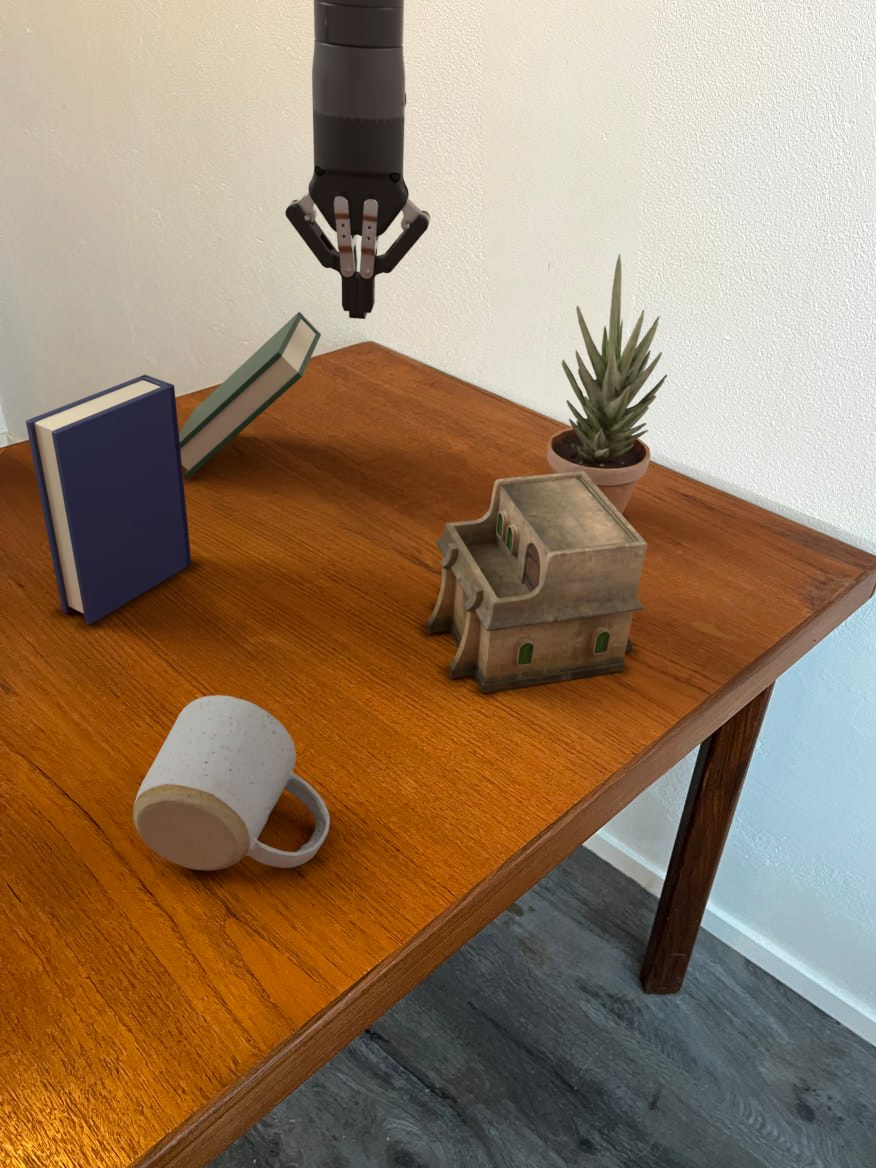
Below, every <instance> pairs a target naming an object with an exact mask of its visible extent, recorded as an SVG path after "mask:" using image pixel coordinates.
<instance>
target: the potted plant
mask: <svg viewBox="0 0 876 1168" xmlns="http://www.w3.org/2000/svg"><path fill="white" fill-rule="evenodd" d="M575 311H576V316H577V321H578V325H579V329H580V331H581V336H582V338H583V341H584V345H585V349H586V352H587V355H588V358H589V360H590V364H591V367H592V369H593V373H594V375H595V379H594V377H593V375H592V374H591V373H590V372H589V370H588V368H587V367H586V365H585V363H584V361H583V359H582V357H581V355H580V353H579V352H578V350H577V349H575V358H576V362H577V366H578V369H577V374H578V377H579V379H580V382H581V384H582V386H583V388H584V390H585V392H586V395H587V396H586V395H584V393H583V390H582V389H581V387H580V386H579V384H578V382H577V379H576V378H575V375H574V374H573V372H572V370H571V369H570V367H569V366H568V364H567V363H566V360H565V359H562V362H561V366H562V369H563V372H564V373H565V375H566V378H567V380H568V382H569V384H570V386H571V388H572V390H573V392H574V395H575V396H576V398H577V399H578V401H579V403H580V405H581V408H582V410H583V412H584V414H585V416H586V418H585V417H584V416H583V415H582V414H581V413H580V412H579V411H578V409H577V408H576V407H575V406H574V405H573V404H572V403H571V402H570V400H568V399H566V401H565V402H566V404H567V406H568V409H569V410H570V411H571V413H572V415H573V416H574V417H575V419H576V423H575V421H574V420H572V419H571V418H568V421H569V424H570V426H571V427H567V428H565V429H562V430H559V431H557V432H555V433H554V434H552V435H551V436H550V438H549V440H548V441H547V454H546V455H547V456H546V458H547V463H548V464H549V465H550V467H551V469H552V472H553V473H552V474H558V473H569V472H580V471H584V472H585V473H586V474H587V476H588V477H589V478H590V479H591V480H592V481H593V482H594V484H595V485H596V486H597V487H598V488H599V489H600V490H601V492H602V493H603V494H604V495H605V496H606V497H607V498H608V499H609V501H610V502H611V503H612V504H613V505H614V506H615V507H616V509H617V510H618V511H619V512H620V513H621V514H622V515H623V514H624V511H625V509H626V508H627V505H628V503H629V501H630V499H631V497H632V495H633V493H634V491H635V489H636V487H637V485H638V482H639V480H640V479H641V478H642V477H644V476H645V474H646V473H647V471H648V469H649V464H650V460H651V450H650V447H649V445H647V443H645V441H643V440H642V439H640V438H641V437H642V436H643V435H644V434H646V433H648V432H649V429H645V430H642V428H643V427H645V426H646V425H647V423H646V422H644V423H641V424H639V425H637V426H635V425H636V424H637V423H638V422H639V421H640V420H641V419H642V417H643V416H644V415H645V414H646V413H647V412H648V410H649V409H650V407H649V406H650V405H651V404H652V403H653V402H654V400H655V399H656V398H657V395H656V393H657V392H658V391H659V390H660V388H662V386H663V384H664V383H665V380H666V379H667V378H668V374H665V375H664V376H663V377H662V378H661V379H660V381H658V383H656V385H655V386H654V387H653V388H652V389H651V390H649V392H647V393H646V394H645V395H644V396H643V397H642V399H640V401H639V402H637V403H636V404H634V405H632V406H629V405H630V404H631V403H632V401H634V399H635V397H636V396H637V395H638V393H639V392H640V390H641V389H642V387H643V386H644V385H645V383H646V382H647V380H648V379H649V377H650V376H651V374H652V373H653V371H654V369H655V367H656V366H657V364H658V363H659V361H660V359H661V357H662V354H663V351H660V352H659V353H658V354H657V356H656V357H655V358H654V359H653V360H652V361H651V362H650V364H649V365H648V366H647V364H648V362H649V359H650V355H651V350H649V349H650V347H651V344H652V342H653V341H654V337H655V335H656V332H657V328H658V326H659V320H660V318H661V316H658V315H657V317H656V319H655V320H654V321H653V324H652V325H651V327H650V328H649V329H648V331H647V332H646V334H645V335H644V336H643V338H642V340H640V342H639V339H640V335H641V332H642V331H641V330H642V326H643V322H644V317H645V309H643V310H642V311H641V314H640V315H639V317H638V319H637V321H636V323H635V326H634V327H633V330H632V332H631V335H630V337H629V338H628V340H627V343H626V345H625V347H624V349H623V351H622V342H623V328H624V327H623V325H624V322H623V319H621V313H622V312H621V311H622V260H621V253H619V254H618V257H617V260H616V264H615V269H614V277H613V283H612V289H611V301H610V311H609V312H610V315H609V328H608V330H607V326H606V325H604V327H603V332H602V333H603V335H602V340H601V353H600V351H599V350H598V348H597V346H596V344H595V342H594V340H593V338H592V336H591V334H590V331H589V328H588V326H587V323H586V321H585V319H584V316H583V314H582V311H581V309H580V306H579V305H576V310H575ZM638 342H639V343H638ZM641 430H642V431H641ZM639 431H640V432H639ZM637 432H638V433H637Z"/></svg>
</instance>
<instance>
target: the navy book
mask: <svg viewBox="0 0 876 1168" xmlns="http://www.w3.org/2000/svg"><path fill="white" fill-rule="evenodd" d="M175 389H176V388H175V385H174V384H172V383H171V382H170V383H169V382H166V381H164V380H161V379H159V378H156V377H154V376H150V375H148V374H143V375H142V374H141V375H140V376H137V377H135V378H132V379H130V380H127V381H124V382H122V383H119V384H116V385H114V386H112V387H109V388H106V389H104V390H101V391H98V392H96V393H93V394H91V395H88V396H85V397H83V398H81V399H78V400H75V401H73V402H70V403H68V404H65V405H62V406H60V407H57V408H54V409H52V410H50V411H47V412H45V413H42V414H39V415H37V416H34V417H31V418H28V419H26V420H25V425H26V431H27V435H28V441H29V446H30V450H31V455H32V456H31V457H32V461H33V466H34V470H35V471H34V472H35V477H36V481H37V487H38V493H39V497H40V503H41V508H42V513H43V518H44V523H45V529H46V532H47V539H48V544H49V549H50V555H51V559H52V564H53V569H54V570H53V571H54V575H55V581H56V585H57V591H58V595H59V601H60V607H61V611H62V612H63V613H65V614H68V613H70V612H71V611H73V610H75V611H77V612H80V613H82V614H83V619H84V623H85V624H87V625H89V626H90V625H92V624H94V623H96V622H97V621H99V620H100V619H103V618H105V616H107V615H109V614H111V613H112V612H115V611H116V610H117V609H119V608H120V607H122V606H124V605H126V604H128V603H129V602H131V601H132V600H135V599H136V598H137V597H139V596H141V595H142V594H144V593H146V592H148V591H149V590H150V589H152V588H154V587H156V586H158V585H159V584H161V583H163V582H164V581H166V580H167V579H170V578H171V577H173V576H174V575H176V574H178V573H180V572H181V571H184V569H186V568H188V567H190V566H191V565H192V556H191V545H190V534H189V524H188V513H187V504H186V503H187V502H186V494H185V482H184V472H183V465H182V461H181V450H180V440H179V433H180V430H179V420H178V411H177V409H178V408H177V399H176V390H175Z"/></svg>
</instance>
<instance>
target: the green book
mask: <svg viewBox="0 0 876 1168" xmlns="http://www.w3.org/2000/svg"><path fill="white" fill-rule="evenodd" d="M321 337H322V334H321V332H320V331H318V329H317V328H316V327H315V326H314V325H313V324H312V323H311V322H310V321H309V320H308V319H307V318H306V317H305V316H304V315H303V314H302V312H301V311H298V312H296V314H295V315H294V316H293V317H291V319H290V320H288V321H287V322H286V323H285V324H284V325H283V326H281V328H280V329H279V330H278V331H276V332H275V334H274V335H272V336H271V337H270V338H269V339H268V340H267V341H266V342H265V343H264V344H262V346H260V347H259V348H258V349H257V350H256V351H255V352H254V353H253V354H252V355H251V356H250V357H249V358H248V359H246V360H245V361H244V363H243V364H241V365H240V366H239V367H238V368H237V369H236V370H235V371H234V372H233V373H232V374H231V375H230V376H228V377H227V378H226V380H224V381H223V382H222V383H220V384H219V386H218V387H217V388H215V390H214V391H212V392H211V393H210V394H209V395H208V396H207V397H206V398H205V399H204V400H203V401H202V402H201V403H199V404H198V405H197V406H196V407H195V408H194V409H193V411H192V412H191V414H190V415H189V416H188V419H187V420H186V422H185V423H184V425H183V426H182V428H181V430H179V440H180V450H181V461H182V467H184V468H185V469H186V472H185V473H184V476H185V478H187V479H191V477H193V475H194V474H196V473H197V472H198V471H199V470H200V469H201V468H202V467H203V466H204V465H205V464H207V463H208V462H209V461H210V460H211V459H212V458H213V457H214V456H215V455H217V454H218V453H219V452H220V451H221V450H222V449H224V447H225V446H227V445H228V444H229V443H230V442H231V441H232V440H234V438H236V437H237V436H238V435H239V434H240V433H241V432H243V430H245V429H246V428H247V427H248V426H249V425H250V424H251V423H252V422H254V421H255V420H256V419H257V418H258V417H259V416H260V415H261V414H262V413H263V412H265V411H266V410H267V409H268V408H269V407H270V406H271V405H273V404H274V403H275V402H276V401H277V400H278V399H279V398H280V397H281V396H283V395H284V394H285V393H286V392H287V391H288V390H289V389H290V388H292V386H294V385H295V384H296V383H297V382H298V381H299V380H301V378H303V376H304V373H306V370H307V367H308V365H309V363H310V360H311V358H312V356H313V354H314V352H315V349H316V348H317V345H318V343H319V341H320V339H321Z"/></svg>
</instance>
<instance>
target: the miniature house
mask: <svg viewBox="0 0 876 1168" xmlns="http://www.w3.org/2000/svg"><path fill="white" fill-rule="evenodd" d="M443 530H444V531H443V533H442V536H441V537H440V538H439V539H436V540H435V544H436V546H437V548H438V549H439V551H440V553H441V555H442V559H441V560H440V561H439V564H440V566H441V575H440V576H441V579H440V589H439V594H438V597H437V600H436V603H435V605H434V608H433V610H432V613H431V615H430V617H429V618H428V619H427V620H426V630H427V632H428V634H429V635H436V634H444V633H450V635H451V637H452V639H453V640H454V642H455V645H456V647H457V648H458V649H457V651H456V654H455V656H454V658H453V660H452V661H451V663H449V664H448V675H449V677H450V678H451V680H458V679H463V678H470V677H472V678H474V680H475V683H476V685H477V686H478V688H479V690H480V692H481V693H482V694H491V693H497V692H505V691H511V690H517V689H522V688H530V687H537V686H542V685H547V684H554V683H560V682H561V683H562V682H568V681H573V680H580V679H586V678H587V679H588V678H592V677H598V676H599V677H600V676H604V675H611V674H617V673H622V672H624V671H625V665H626V662H625V654H627V653H631V652H632V648H633V642H632V641H631V638H630V631H631V627H632V626H631V625H632V620H633V615H634V612H636V611H643V610H644V608H645V607H644V606H643V604H642V603H641V602H640V600H639V597H638V592H639V591H638V590H639V586H640V581H641V576H642V571H643V567H644V561H645V557H646V551H647V547H648V543H647V541H646V540H645V539H644V538H643V537H642V535H641V534H640V533H639V532H638V531H637V530H636V529H635V528H634V526H633V525H632V524H631V523H630V522H629V521H628V520H627V519H626V518H625V517H624V515H623V514H621V513H620V512H619V511H618V510H617V509H616V507H615V506H614V505H613V504H612V503H611V502H610V501H609V499H608V498H607V497H606V496H605V495H604V494H603V493H602V492H601V490H600V489H599V488H598V487H597V486H596V485H595V484H594V482H593V481H592V480H591V479H590V478H589V477H588V476H587V474H586V473H585V472H584V471H580V472H569V473H558V474H554V473H547V474H537V475H526V476H515V477H504V478H503V477H502V478H497V479H496V480H495V481H494V483H493V488H492V493H491V498H490V504H489V508H488V510H487V512H486V513H485V514H483V516H481V517H480V518H477V519H473V520H461V521H453V522H445V523H444V529H443Z"/></svg>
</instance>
